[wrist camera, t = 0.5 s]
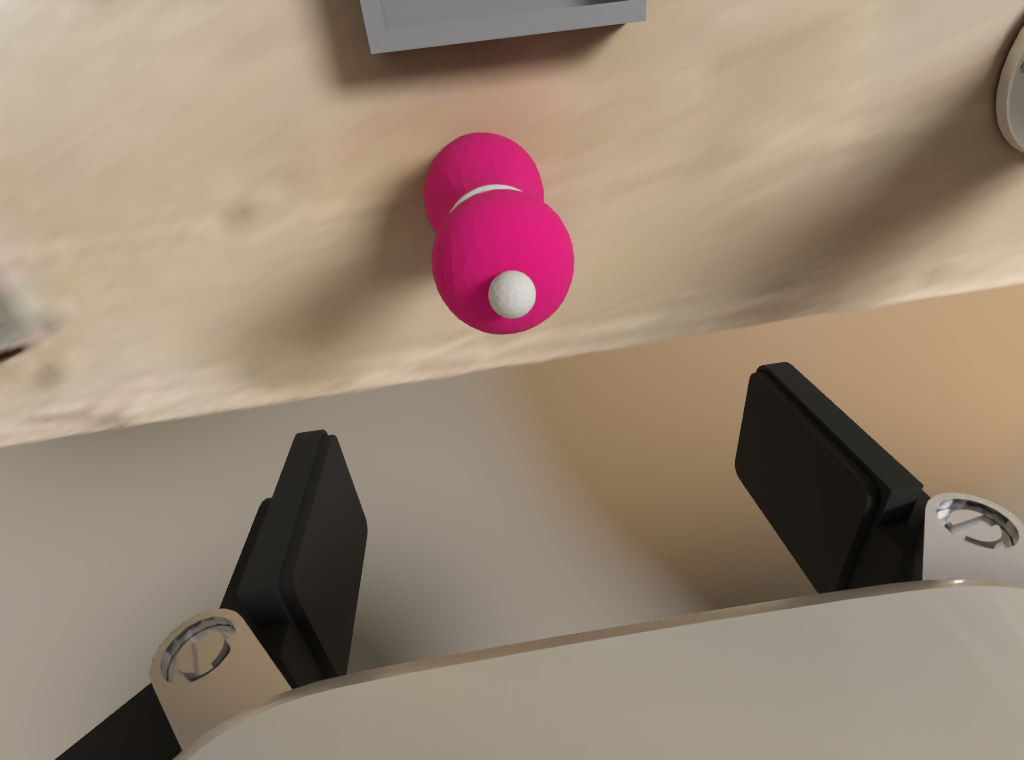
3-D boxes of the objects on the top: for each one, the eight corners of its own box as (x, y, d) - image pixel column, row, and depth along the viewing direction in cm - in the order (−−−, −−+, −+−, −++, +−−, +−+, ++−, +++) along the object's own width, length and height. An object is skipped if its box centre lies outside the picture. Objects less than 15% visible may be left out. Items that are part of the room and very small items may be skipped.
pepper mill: (539, 224, 38) (619, 368, 21) (440, 244, 38) (440, 405, 21) (523, 113, 34) (606, 180, 17) (412, 135, 34) (386, 226, 17)
